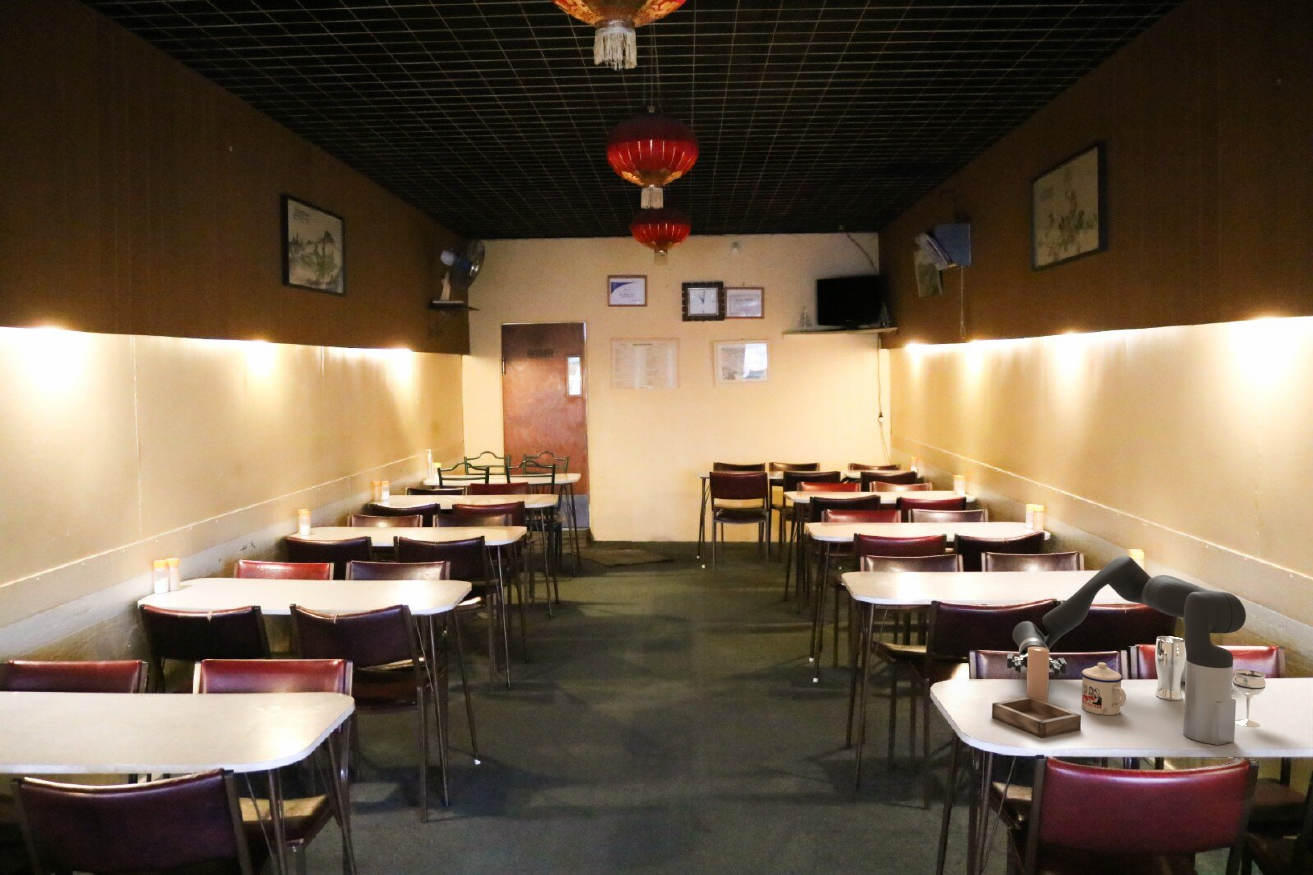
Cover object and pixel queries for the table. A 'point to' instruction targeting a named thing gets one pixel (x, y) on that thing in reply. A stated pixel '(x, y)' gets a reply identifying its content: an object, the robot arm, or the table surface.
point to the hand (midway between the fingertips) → (1037, 670)
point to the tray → (1036, 717)
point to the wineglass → (1248, 689)
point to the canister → (1038, 673)
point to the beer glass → (1170, 666)
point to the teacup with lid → (1102, 690)
